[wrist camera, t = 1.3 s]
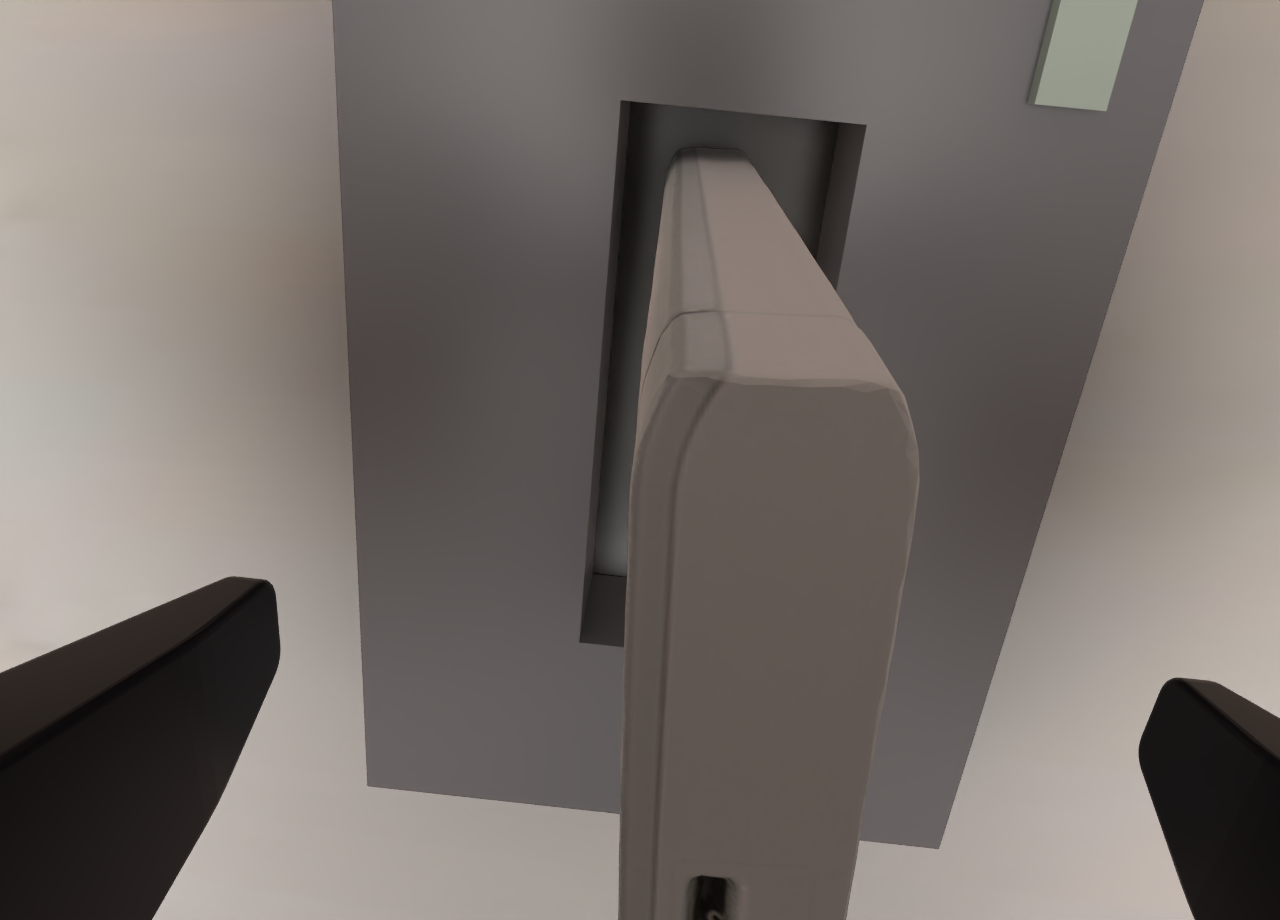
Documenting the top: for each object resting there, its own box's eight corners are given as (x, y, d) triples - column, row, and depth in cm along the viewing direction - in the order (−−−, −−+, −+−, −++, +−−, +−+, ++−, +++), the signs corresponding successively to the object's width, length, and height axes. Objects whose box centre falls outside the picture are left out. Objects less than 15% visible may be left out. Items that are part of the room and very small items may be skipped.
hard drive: (654, 552, 19) (598, 1278, 8) (665, 145, 16) (596, 364, 4) (732, 556, 19) (791, 1293, 8) (760, 148, 16) (942, 378, 4)
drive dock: (911, 762, 21) (942, 860, 18) (402, 707, 21) (362, 796, 18) (1168, -154, 13) (1279, -204, 11) (382, -229, 14) (309, -296, 11)
